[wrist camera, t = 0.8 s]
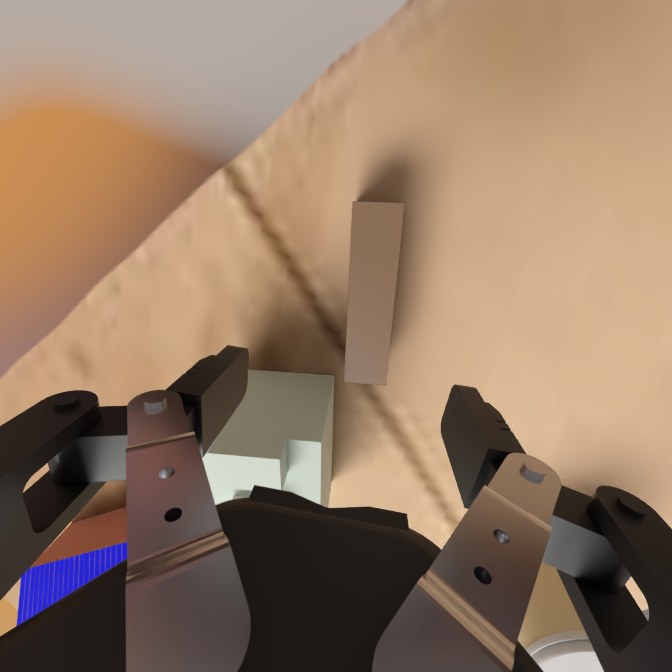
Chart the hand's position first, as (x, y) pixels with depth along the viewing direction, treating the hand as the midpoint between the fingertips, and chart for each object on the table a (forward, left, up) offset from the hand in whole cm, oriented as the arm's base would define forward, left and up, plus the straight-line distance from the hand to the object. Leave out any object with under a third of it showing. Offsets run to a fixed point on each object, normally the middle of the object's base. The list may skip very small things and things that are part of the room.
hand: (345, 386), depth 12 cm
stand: (+7, +16, -17) cm, 25 cm away
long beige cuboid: (-1, 0, -18) cm, 18 cm away
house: (+27, +36, -18) cm, 48 cm away
